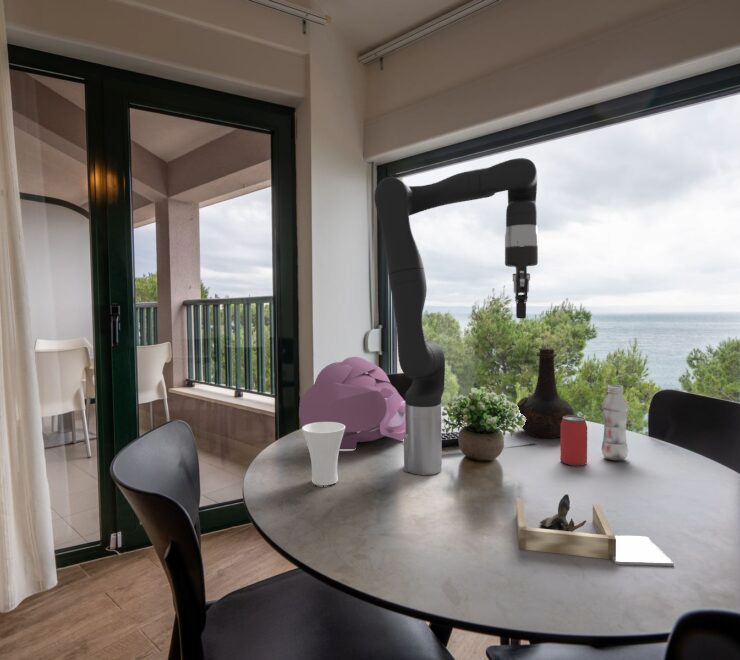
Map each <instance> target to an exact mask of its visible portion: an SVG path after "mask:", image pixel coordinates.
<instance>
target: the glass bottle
mask: <svg viewBox="0 0 740 660" xmlns="http://www.w3.org/2000/svg"><path fill="white" fill-rule="evenodd" d="M538 350H539V352H538V353H536V356H537V357H539V359H538V360H539V361H538V373H537V381H536V386H535V389H534V393H533V394H532V395H530V396H524V397H523V398H521V399H520V400H519V401H518V402H517V404H516V407H517V406H518V407H519V410H520V413H521V414H523V415H524V416H525V417H526V419H527V420H526V422H525V425H524V426H523V427H522V428H521V429H522V430H523V431H524V432H526V433H528V434H529V435H531V436H533V437H537V438H542V439H555V438H561V422H562V420H563V417H564V416H576V413H575V409H574V408H573V406H572V405H571V404H570V403H569V402H568V401H566V400H565V399H563V398H562V397H560V395H559V393H558V390H557V389H558V388H557V385H556V374H555V357H557V354H555V353H554V352H555V349H554V348H546V347H543V348H539V349H538Z"/></svg>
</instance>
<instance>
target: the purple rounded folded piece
mask: <svg viewBox="0 0 740 660" xmlns="http://www.w3.org/2000/svg"><path fill="white" fill-rule="evenodd" d="M298 417H299V421H300V424H301V426H302V427H303V426H305V425H307V424H311V423H317V422H336V423H341V424H343V425H345V430H344V434H343V437H342V441H341V445H340V448H339V449H355V448H356V449H357V443H364V442H365V443H366V442H373V441H376V440H378V439H381V438H383V437H388V438H392V439H394V440H397V441H401V440H403V439H404V434H405V433H406V426H405V399H404V398H403V397H402V396H401V395H400V393H399V392H398V390H397V389H396V387H395V386H394V385H392V383H391V381H390V379H389V377H388V375H387V373H386V372H385V371H384V370H383V369H382V368H381V367H379V366H378V365H377V364H374V363H372V362H371V361H368V360H366V359H364V358H363V357H361V356H350V357H347V358H345V359H344V360H342V361H335V362H332V363H330V364H328V365H326V366H325V367H323V368H322V369H321V370H320V372H318V374H317V376H316V378H315V380H314V384H313V385H312V386H310V387H309V388H308V389H307V390H306V391H305V393H303V396H302V398H301V399H300V403H299V408H298ZM401 442H402V441H401Z"/></svg>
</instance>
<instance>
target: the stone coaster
mask: <svg viewBox="0 0 740 660" xmlns="http://www.w3.org/2000/svg"><path fill="white" fill-rule="evenodd" d="M614 536H615V538H616V557H612V559H611V560H612V562H614V564H615V565H620V566H621V565H624V566H626V565H628V566H629V565H630V566H656V567H657V566H659V567H665V566H666V567H674V564H675V563H674V562H673V560H671V559H670V558H669V556H668V555H666V554H665V553H664V552H663V551H662V550H661V549H660V548H659V547H658V545H656V544H655V543H654V542H653V541H652V540H651V539H650V538H649V537H648V536H643V535H642V536H641V535H614Z"/></svg>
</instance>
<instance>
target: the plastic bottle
mask: <svg viewBox="0 0 740 660" xmlns="http://www.w3.org/2000/svg"><path fill="white" fill-rule="evenodd" d="M607 393H608V395H606V397H605V398H604V400H602V403H601V406H602V407H601V408H602V415H603V424H604V425H603V429H604V430H603V439H602V443H601V453H602V456H603V457H604V458H605V459H607V460H610V461H617V462H618V461H625V460H626V459H627V457H628V453H629V449H628V443H627V430H626V429H627V418H628V413H629V404H628V401H627V400H626V398H625V397H624V396H623V394H624V387H623V385H619V384H608V385H607Z"/></svg>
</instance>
